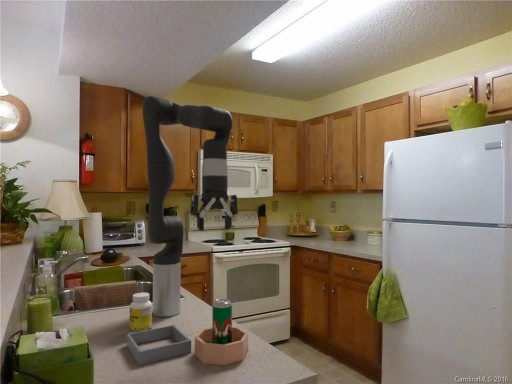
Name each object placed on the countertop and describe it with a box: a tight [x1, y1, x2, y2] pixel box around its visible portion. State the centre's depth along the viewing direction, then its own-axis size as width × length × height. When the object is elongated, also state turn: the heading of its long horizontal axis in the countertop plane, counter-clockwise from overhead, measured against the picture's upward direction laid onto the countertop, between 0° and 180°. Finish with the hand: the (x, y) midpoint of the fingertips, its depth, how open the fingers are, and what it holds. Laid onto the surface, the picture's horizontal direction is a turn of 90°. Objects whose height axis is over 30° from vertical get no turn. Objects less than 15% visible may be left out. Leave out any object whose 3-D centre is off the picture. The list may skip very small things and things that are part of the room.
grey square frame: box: [126, 324, 192, 366], centre depth 91 cm, size 13×13×3 cm
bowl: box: [194, 326, 249, 366], centre depth 89 cm, size 13×13×4 cm
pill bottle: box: [129, 292, 153, 334], centre depth 102 cm, size 6×6×11 cm
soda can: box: [211, 298, 233, 345], centre depth 89 cm, size 5×5×12 cm
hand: (214, 230), depth 102 cm, fingers open, 8 cm apart
